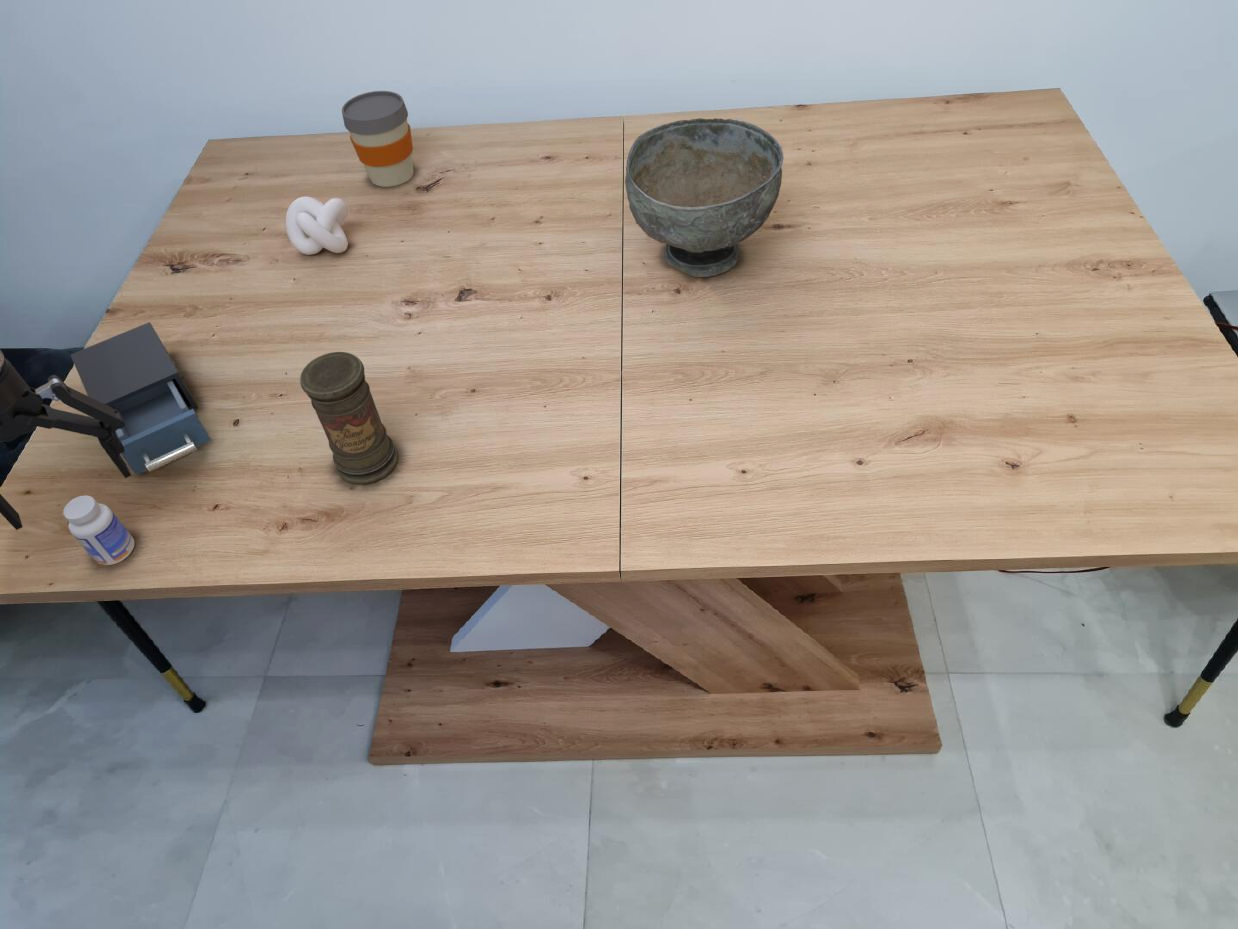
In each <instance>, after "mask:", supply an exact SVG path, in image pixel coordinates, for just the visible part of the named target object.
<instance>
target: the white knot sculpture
mask: <svg viewBox="0 0 1238 929" xmlns="http://www.w3.org/2000/svg"><path fill="white" fill-rule="evenodd" d="M347 216H348V205H347V204H346V201H345V200H343V199H341V198H340V197H333V198H332V197H331V198H330V199H329V200H328V201H326V202H325V203H324V204H323V203H322V202H321V201H320V200H318V199H316V198H314V197H311V196H301V197H298V198H296V199H294V200H293V201H292V202H291V203H290V205H289V206H288V208H287V210H286V214H285V230H286V235H287V237H288V239H289V240H288V241H290V244H291V245H292V246H293V247H294V249H296V250H297V251H298V252H299V253H301V254H303V255H307V256H311V255H316V254H319V253H320V252H321V251H322V250H323V249H326V250H327V251H330V252H332V253H334V254H341V253H344V252H345V251H346V250H347V249H348V246H349V242H348V238H347V236H346V233H345V232H344V229H343V228H342V227H343V225H344V224H345V222H346V220H347ZM307 236H308V237H309V238H308V237H307Z"/></svg>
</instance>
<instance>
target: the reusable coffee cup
mask: <svg viewBox="0 0 1238 929" xmlns="http://www.w3.org/2000/svg"><path fill="white" fill-rule="evenodd" d="M341 114H342V115H341V116H342V119H343V125H344V127H345V129H346V130H347V131H348V133H349V135H350V136H349V140H350V142H351V145H352V146H353V149H354V151H355V153H356V155H357V158H358V160H359V162H360V163H362V164H363V165H364V168H365V171H366V173H367V174H368V177H369V179H370V181H371V182H372V183H373V184H374V185H375V186H378V187H384V188H386V187H387V188H388V187H395V186H399V185H402V184H404V183H407V182H408V181H410V179H412V178H413V175H414V163H413V155H412V153H413V150H414V148H413V139H412V138H413V137H412V131H411V130H412V129H411V126H410V123H409V122H408V117H409V112H408V109H407V107H406V104H405V101H404V99H403V96H402V95H400V94H399V93H397V92H394V91H391V90H390V91H388V90H373V91H368V92H364V93H361V94H358V95H355V96H354V97H352V98H350V99H348V100H347V101H346V102H345V103H344V104H343V105H342V108H341Z"/></svg>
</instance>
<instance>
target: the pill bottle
mask: <svg viewBox="0 0 1238 929" xmlns="http://www.w3.org/2000/svg"><path fill="white" fill-rule="evenodd" d="M62 513H63V517H64V518H65V520H66V521H67V522H68V531H69V532H70V534H71V535H72V537H74V539H75V540H76V541H77V542H78V543H79V544H80V545H81V546H82V548H84V550H85V551H86V552H87V553H88V555H90V557H91V558H92V559H93V560H94V561H95V563H97V564H99V565H102V566H112V565H117V564H119V563H121V562H122V561H124V560H125V559H127V558H128V557H129V556H130V555H131V554H132V552H133V550H134V548H135V539H134V538H133V536H132V535H131V533H130V532H129V531H128V530H127V528H126V527H125V526H124V525H123V523H122V522H121V521H120V519H119V518H118V517H117V516H116V515H115V513H114V512H113V511H112V510H111V508H109V506H107V505H106V504H104V503H98V502H97V501H96V499H95V498H94V497H93V496H91V495H79V496H76V497H74V498H73V499H71V500H70V501H69V502H67V504H66V505H65V506H64V508H63V510H62Z"/></svg>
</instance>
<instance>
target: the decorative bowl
mask: <svg viewBox="0 0 1238 929" xmlns="http://www.w3.org/2000/svg"><path fill="white" fill-rule="evenodd" d="M784 158H785V157H784V151H783V149H782V146H781V145H780V143H779V142H778V140H777V139H776V138H775V137H774V136H773V135H771V134H770V133H769V132H767V131H766V130H764V129H763V128H761V127H759V126H757V125H756V124H754V123H751V122H748V121H744V120H738V119H731V118H727V119H725V118H716V117H714V118H702V117H700V118H691V119H680V120H675V121H671V122H669V123H665V124H662V125H661V124H660V125H657V126H656V127H654V128H651V129H649V130H647V131H645V132H644V133H642V134H640V135H638V137H637V138H636V139H635V140H634V142H633V143H632V145H631V147H630V150H629V152H628V156H627V160H626V166H625V172H626V173H625V180H624V185H625V191H626V196H627V197H626V198H627V201H628V204H629V205H628V207H629V210H630V212H631V214H632V216H633V218H634V221H635V223H636V224H637V225H638V227H639V228H640V229H641V230H642V231H643V232H644V233H645V234H646V236H648V237H649V238H651V239H653V240H654V241H657V242H659V243H661V244H665V245H666V246H665V248H664V261H665V263H666V264H667V265H668V266H670V267H672V268H674V269H675V270H678V271H679V272H681V273H683V274H686V275H688V276H690V277H692V278H709V277H714V276H718V275H720V274H724V273H726V272H727V271H730V270H731V269H732V268H734V267H735V266H736V264H737V263H738V260H739V256H740V252H739V250H740V249H739V246H738V245H737V244H739V243H742V242H743V241H745V240H747V239H748V238H750V237H751V236H752V235H754V234H755V233H756V232H757V231H758V230H759V229H760V228H762V226H763V225H764V223H765V222H766V221H767V220H768V218H769V217H770V214H771V213H772V210H774V207H775V205H776V202H777V201H778V198H779V194H780V190H781V186H782V180H783V169H782V165H783V163H784Z"/></svg>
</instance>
